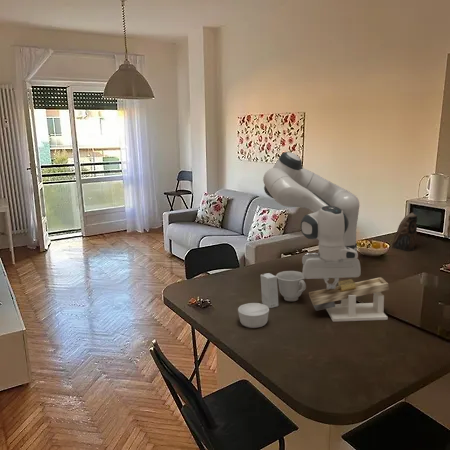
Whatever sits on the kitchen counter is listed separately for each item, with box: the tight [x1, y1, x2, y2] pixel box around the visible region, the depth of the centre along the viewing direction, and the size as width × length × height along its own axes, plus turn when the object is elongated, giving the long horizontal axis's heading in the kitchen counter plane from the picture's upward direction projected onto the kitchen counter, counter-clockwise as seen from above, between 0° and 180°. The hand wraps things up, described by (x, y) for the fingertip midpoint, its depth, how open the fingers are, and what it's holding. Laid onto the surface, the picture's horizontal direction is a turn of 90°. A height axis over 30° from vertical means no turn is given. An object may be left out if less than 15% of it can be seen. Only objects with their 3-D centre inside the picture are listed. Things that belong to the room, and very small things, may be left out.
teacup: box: [275, 270, 307, 302], centre depth 164 cm, size 12×15×10 cm
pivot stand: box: [325, 291, 389, 322], centre depth 149 cm, size 19×13×9 cm
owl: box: [391, 212, 418, 252], centre depth 231 cm, size 13×13×20 cm
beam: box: [308, 276, 390, 312], centre depth 148 cm, size 27×8×5 cm, turn 90°
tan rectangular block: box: [337, 278, 356, 292], centre depth 148 cm, size 5×4×4 cm
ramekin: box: [237, 302, 270, 329], centre depth 145 cm, size 11×11×5 cm
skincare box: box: [259, 272, 279, 309], centre depth 160 cm, size 6×4×12 cm
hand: (331, 289), depth 148 cm, fingers closed
